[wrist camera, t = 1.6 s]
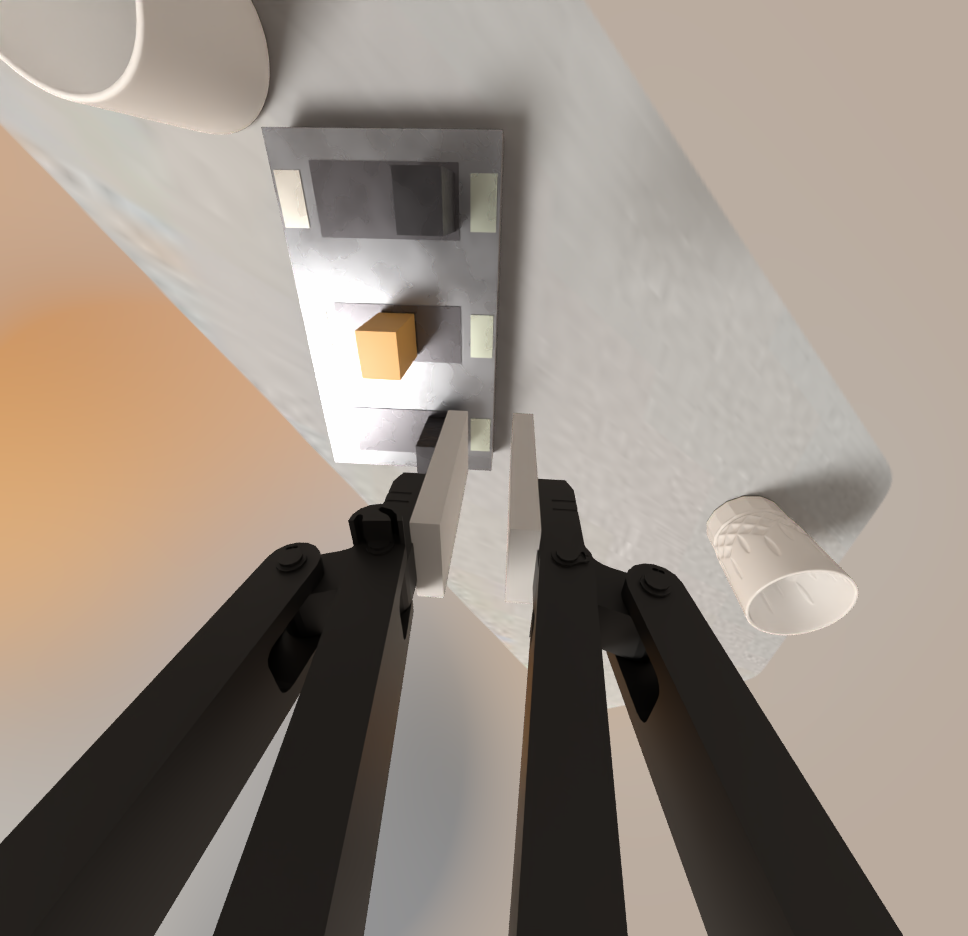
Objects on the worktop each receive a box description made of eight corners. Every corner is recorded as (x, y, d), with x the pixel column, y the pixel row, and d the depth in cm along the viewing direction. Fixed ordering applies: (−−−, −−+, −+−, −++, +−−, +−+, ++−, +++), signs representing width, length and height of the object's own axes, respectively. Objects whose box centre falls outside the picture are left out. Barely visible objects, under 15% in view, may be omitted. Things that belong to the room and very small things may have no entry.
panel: (286, 134, 26) (204, 109, 19) (504, 137, 25) (498, 111, 18) (346, 445, 38) (310, 495, 32) (493, 453, 38) (487, 506, 31)
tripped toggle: (379, 312, 28) (354, 330, 24) (413, 313, 28) (395, 332, 24) (384, 354, 30) (362, 378, 26) (417, 356, 30) (400, 380, 25)
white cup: (691, 550, 42) (734, 634, 34) (709, 490, 38) (763, 569, 30) (770, 550, 42) (834, 636, 33) (797, 489, 37) (878, 570, 29)
